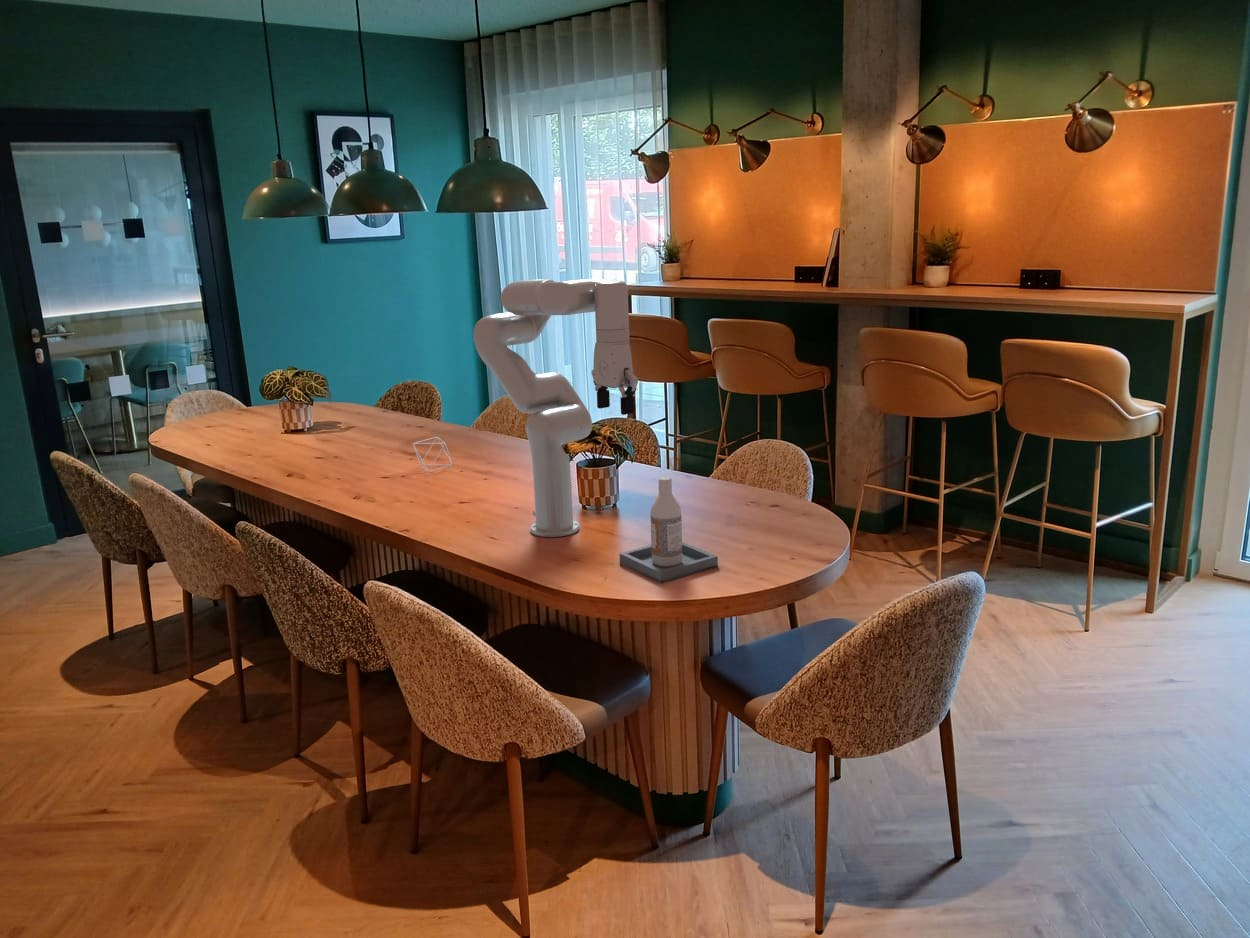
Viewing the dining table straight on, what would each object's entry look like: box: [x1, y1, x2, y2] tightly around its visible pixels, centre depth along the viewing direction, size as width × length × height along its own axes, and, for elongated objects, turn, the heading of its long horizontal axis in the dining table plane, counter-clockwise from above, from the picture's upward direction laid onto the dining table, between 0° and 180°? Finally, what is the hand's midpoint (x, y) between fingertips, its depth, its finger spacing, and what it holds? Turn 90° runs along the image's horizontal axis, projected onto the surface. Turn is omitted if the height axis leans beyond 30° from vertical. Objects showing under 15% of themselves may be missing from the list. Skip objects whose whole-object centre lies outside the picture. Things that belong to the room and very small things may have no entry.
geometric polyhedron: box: [412, 436, 453, 473], centre depth 312 cm, size 12×11×9 cm
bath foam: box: [650, 476, 683, 567], centre depth 216 cm, size 7×7×20 cm
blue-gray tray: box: [618, 541, 719, 584], centre depth 218 cm, size 16×16×2 cm
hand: (615, 410), depth 220 cm, fingers open, 9 cm apart
